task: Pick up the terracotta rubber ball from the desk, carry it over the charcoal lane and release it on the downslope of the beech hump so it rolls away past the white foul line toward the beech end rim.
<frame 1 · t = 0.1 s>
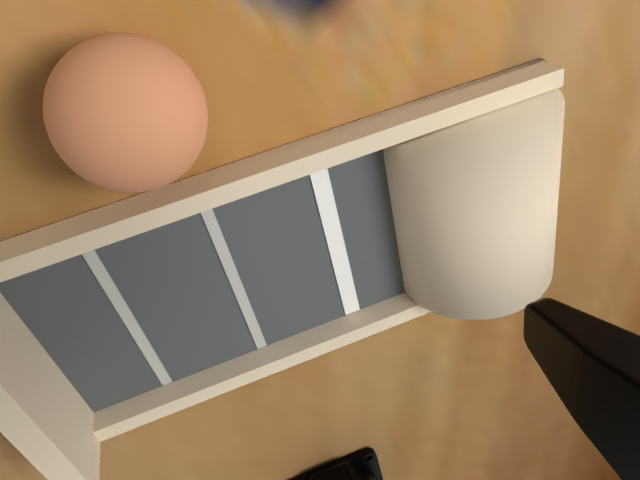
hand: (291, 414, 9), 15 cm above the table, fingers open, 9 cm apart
lane: (293, 253, 26), on the table
ball: (127, 91, 20), on the table
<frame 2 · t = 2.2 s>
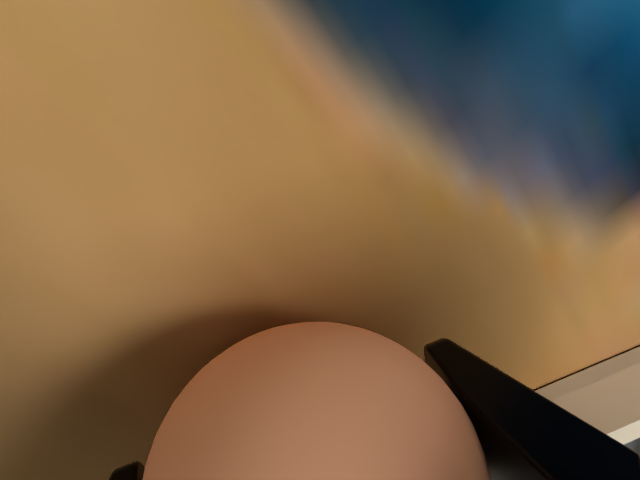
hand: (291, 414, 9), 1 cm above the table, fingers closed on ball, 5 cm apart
ball: (276, 370, 10), on the table, touching gripper
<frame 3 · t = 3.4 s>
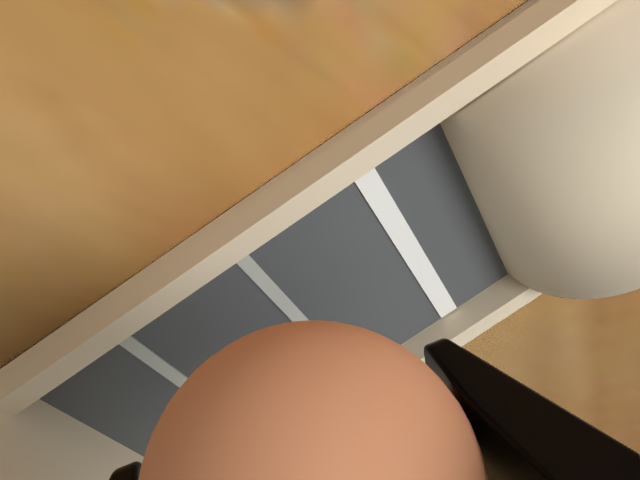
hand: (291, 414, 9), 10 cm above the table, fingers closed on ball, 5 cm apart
lane: (360, 269, 21), on the table
ball: (274, 369, 10), point 9 cm above the table, touching gripper
when the fingers open (6 cm above the table, at t = 4.7 s): ball drops 4 cm, resting on lane.
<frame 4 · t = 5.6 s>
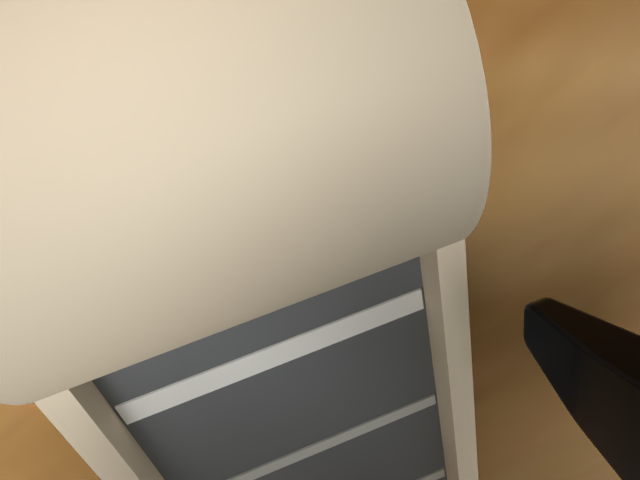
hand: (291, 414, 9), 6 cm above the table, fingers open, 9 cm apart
lane: (289, 385, 17), on the table
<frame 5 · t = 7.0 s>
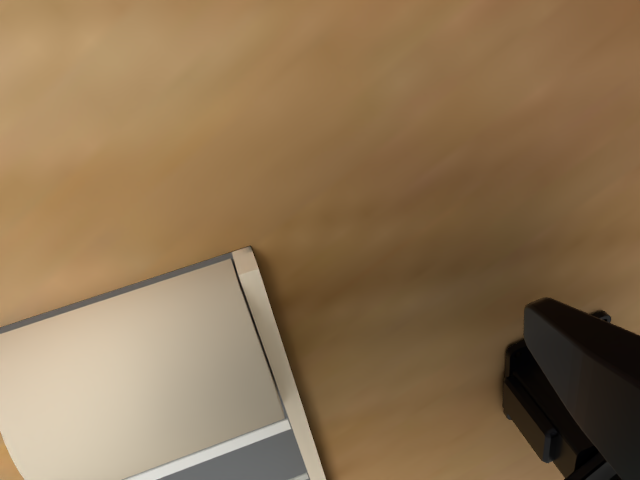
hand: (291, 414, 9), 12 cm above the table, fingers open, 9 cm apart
lane: (213, 470, 29), on the table
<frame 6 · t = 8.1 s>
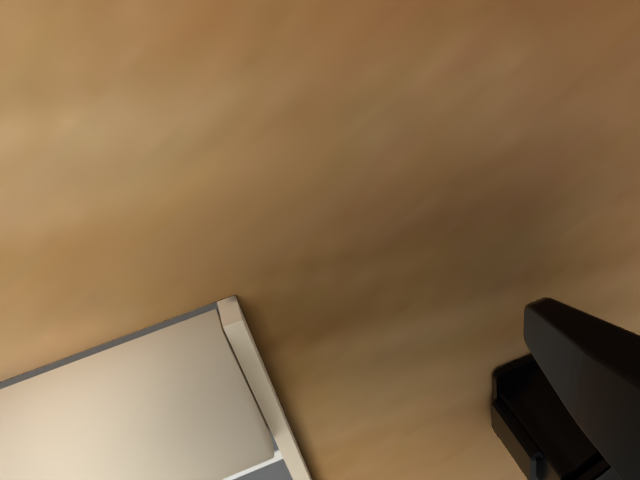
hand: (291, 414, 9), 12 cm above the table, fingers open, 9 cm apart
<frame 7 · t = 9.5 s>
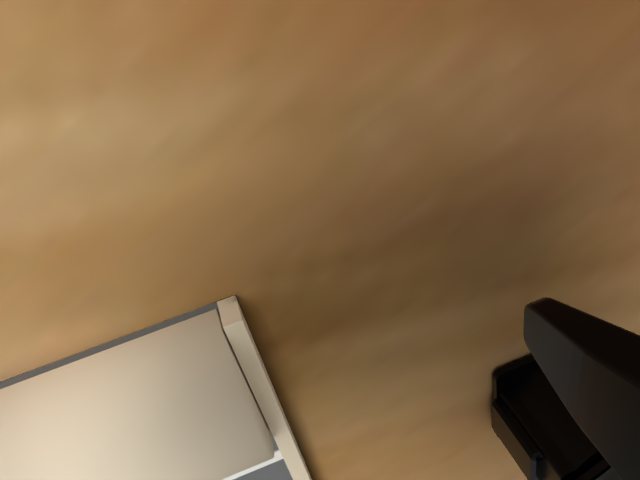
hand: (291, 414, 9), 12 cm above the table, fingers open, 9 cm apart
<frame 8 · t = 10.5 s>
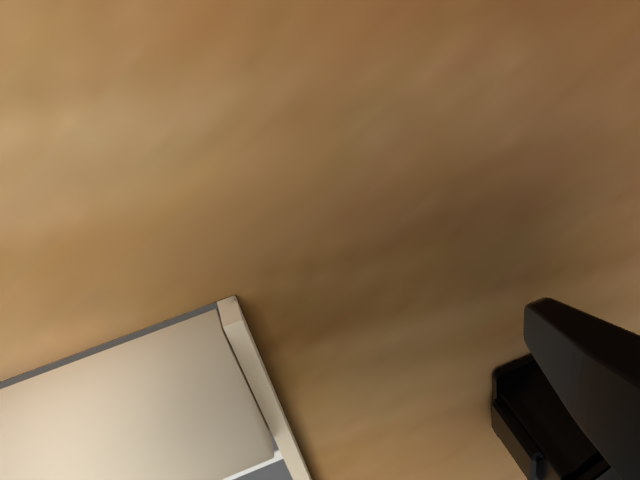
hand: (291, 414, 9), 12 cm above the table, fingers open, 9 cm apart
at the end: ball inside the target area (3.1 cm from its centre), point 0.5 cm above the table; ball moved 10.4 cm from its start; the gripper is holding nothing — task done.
